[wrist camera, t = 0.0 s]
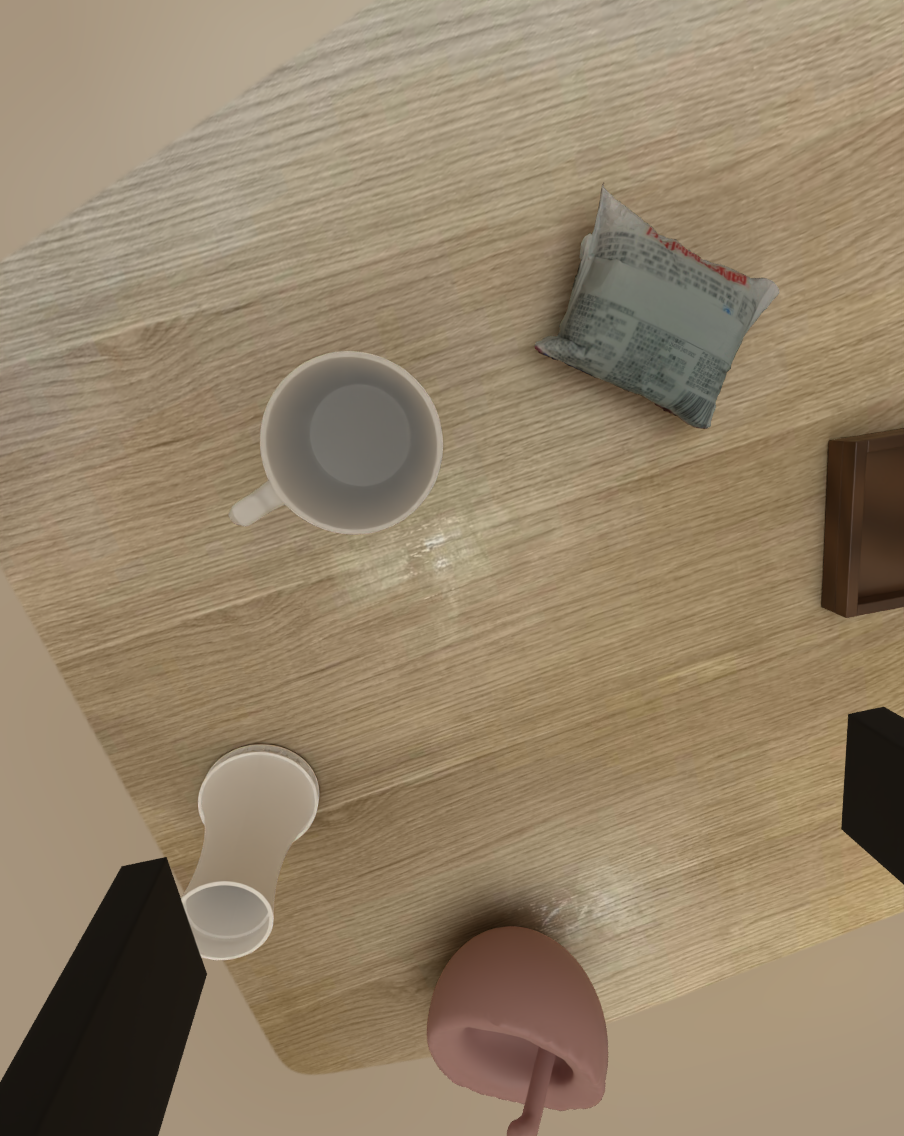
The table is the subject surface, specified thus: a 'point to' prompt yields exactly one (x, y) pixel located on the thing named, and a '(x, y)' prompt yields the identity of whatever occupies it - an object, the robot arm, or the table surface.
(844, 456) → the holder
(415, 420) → the mug
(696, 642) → the table surface
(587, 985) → the mortar and pestle
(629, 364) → the packaged food
